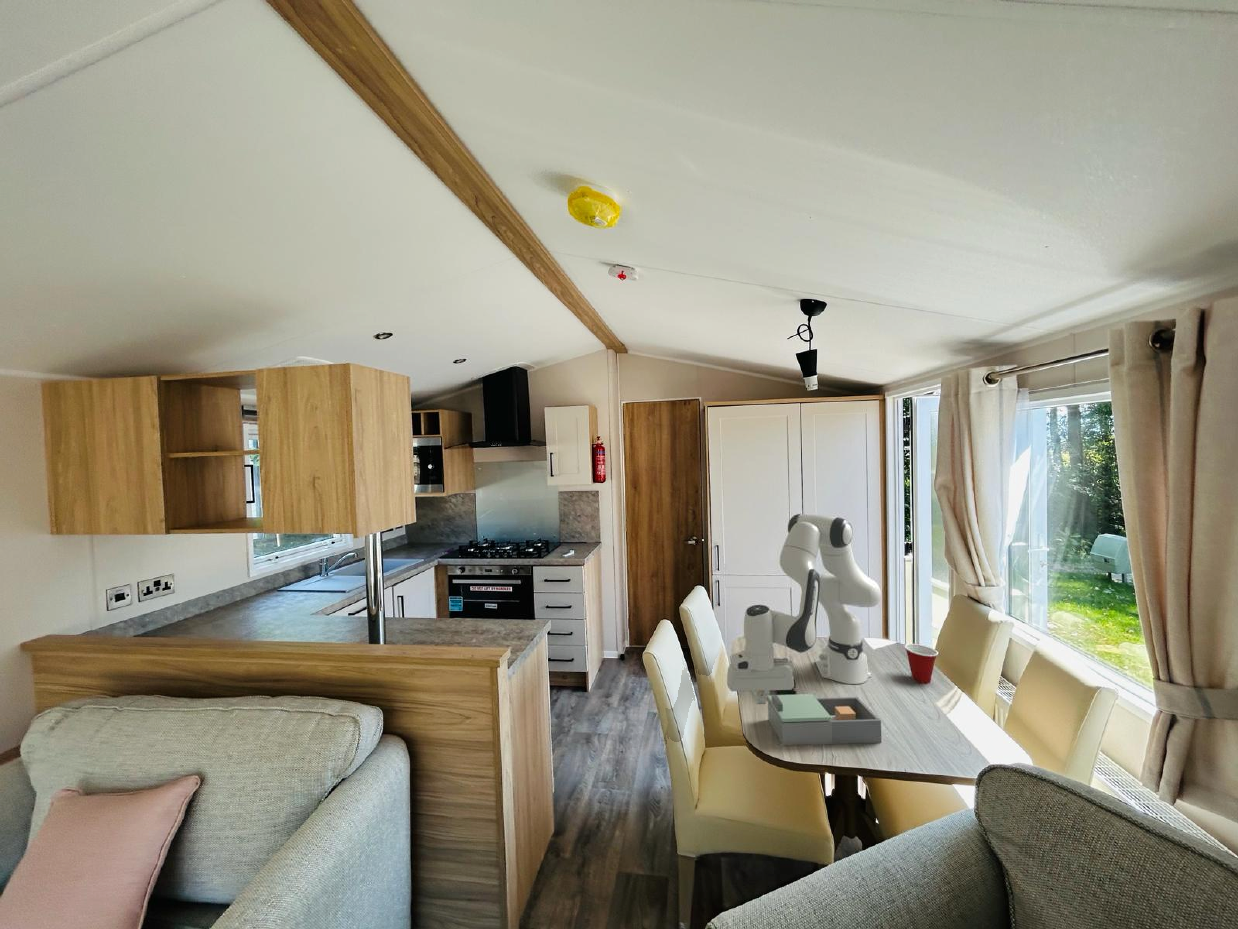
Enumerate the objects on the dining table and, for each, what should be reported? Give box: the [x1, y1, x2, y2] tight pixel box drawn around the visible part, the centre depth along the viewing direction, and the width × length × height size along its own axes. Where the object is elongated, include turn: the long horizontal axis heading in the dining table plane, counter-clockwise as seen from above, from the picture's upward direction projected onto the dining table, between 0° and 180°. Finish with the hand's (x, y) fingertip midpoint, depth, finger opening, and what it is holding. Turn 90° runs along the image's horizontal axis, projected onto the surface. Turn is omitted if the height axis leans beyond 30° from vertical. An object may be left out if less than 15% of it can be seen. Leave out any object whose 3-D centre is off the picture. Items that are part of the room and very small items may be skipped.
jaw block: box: [835, 706, 856, 720], centre depth 154 cm, size 4×4×6 cm
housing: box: [767, 696, 882, 746], centre depth 154 cm, size 15×29×6 cm, turn 90°
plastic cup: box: [904, 643, 939, 684], centre depth 185 cm, size 11×11×12 cm
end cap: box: [774, 671, 797, 695], centre depth 179 cm, size 10×7×7 cm
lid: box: [767, 693, 831, 722], centre depth 154 cm, size 15×15×3 cm
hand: (760, 703), depth 154 cm, fingers closed
